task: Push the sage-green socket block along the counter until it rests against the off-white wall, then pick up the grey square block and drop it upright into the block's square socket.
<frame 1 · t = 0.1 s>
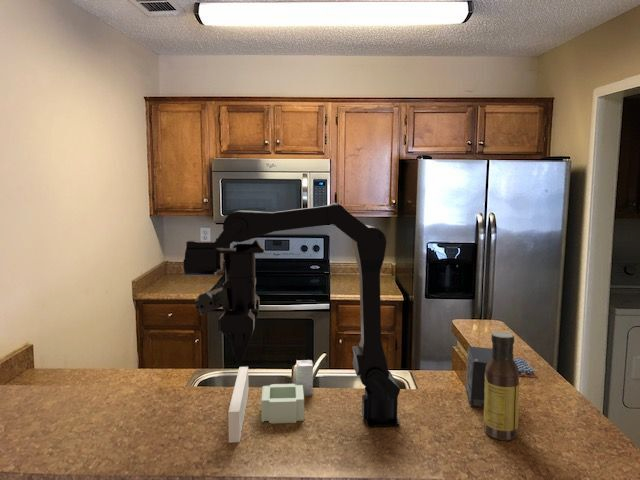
hand: (241, 353, 93), 15 cm above the countertop, fingers open, 9 cm apart
backstop wall: (239, 414, 98), on the countertop
sauce bottle: (499, 434, 91), on the countertop
small box: (482, 399, 106), on the countertop
woven mat: (510, 371, 124), on the countertop
grey square block: (304, 392, 109), on the countertop
socket block: (282, 413, 99), on the countertop
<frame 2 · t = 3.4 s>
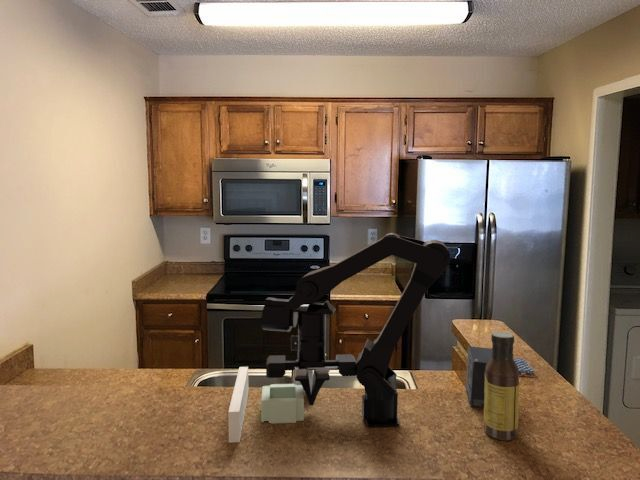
hand: (311, 404, 99), 2 cm above the countertop, fingers closed
socket block: (282, 413, 99), on the countertop, touching gripper
everything else where it was.
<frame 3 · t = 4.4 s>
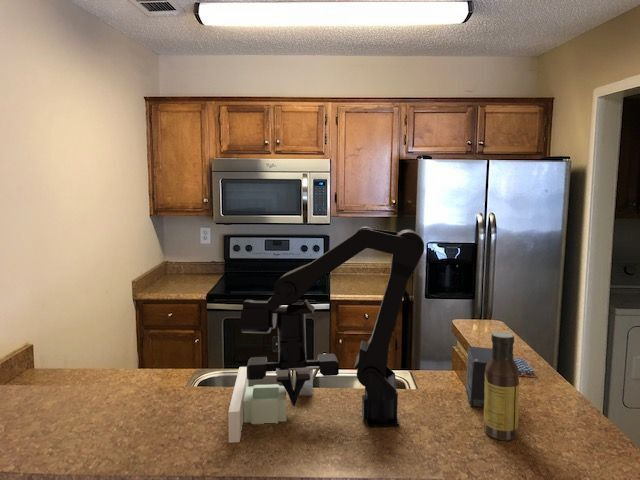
hand: (293, 405, 99), 2 cm above the countertop, fingers closed
socket block: (265, 413, 98), on the countertop, touching gripper
everything else where it was.
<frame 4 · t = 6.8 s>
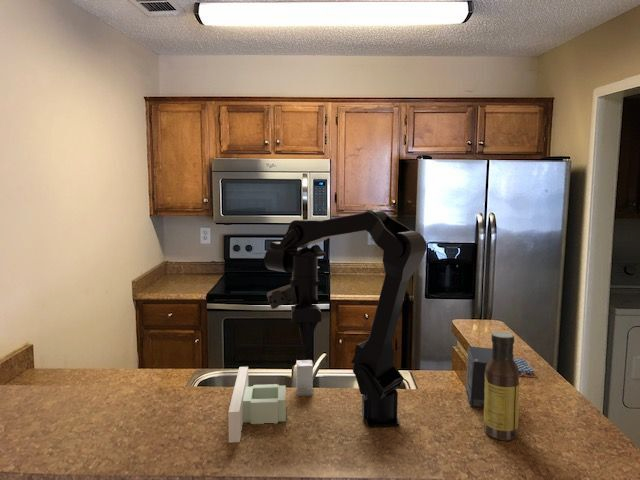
hand: (304, 341, 108), 12 cm above the countertop, fingers open, 5 cm apart
socket block: (265, 413, 98), on the countertop
everything else where it was.
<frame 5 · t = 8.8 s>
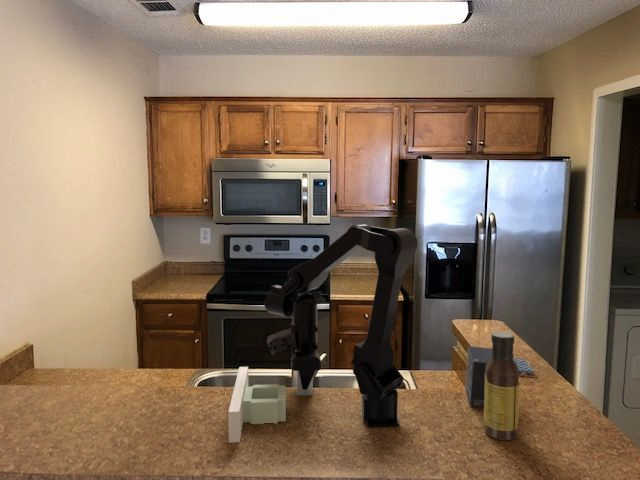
hand: (304, 385, 109), 2 cm above the countertop, fingers closed on grey square block, 4 cm apart
grey square block: (304, 392, 109), on the countertop, touching gripper
everything else where it was.
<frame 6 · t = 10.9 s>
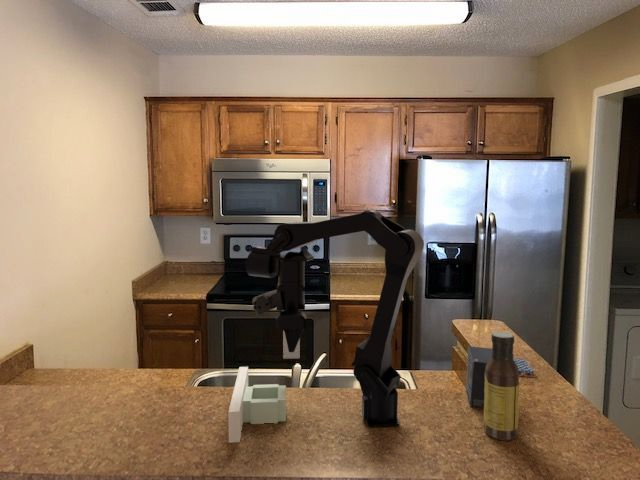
hand: (291, 348, 104), 12 cm above the countertop, fingers closed on grey square block, 4 cm apart
grey square block: (291, 355, 104), point 10 cm above the countertop, touching gripper
everything else where it was.
when the fingers open (5 cm above the countertop, at t = 13.3 s): grey square block drops 3 cm, resting in socket block.
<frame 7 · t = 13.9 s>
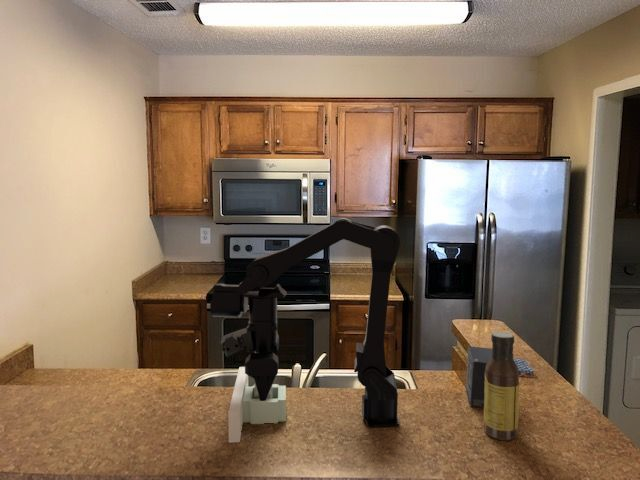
hand: (263, 390, 98), 5 cm above the countertop, fingers open, 9 cm apart
grey square block: (263, 413, 98), resting in socket block
everything else where it was.
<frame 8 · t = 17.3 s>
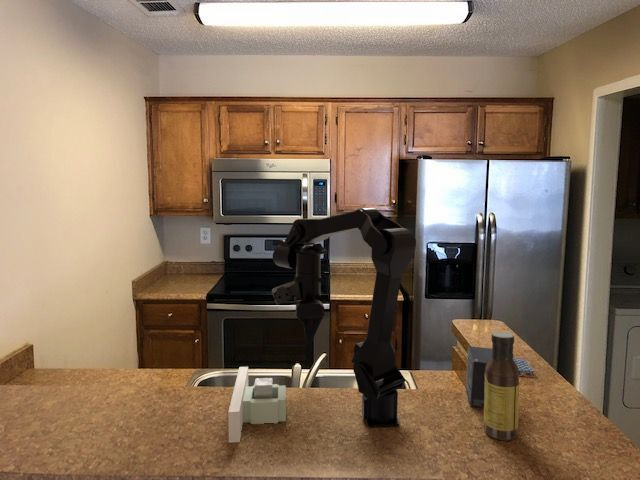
hand: (308, 336, 112), 12 cm above the countertop, fingers open, 9 cm apart
nothing on the countertop moved.
at the end: socket block 0.7 cm from the target spot, on the countertop; grey square block 0.3 cm off-centre on the socket block, point 0.0 cm above the socket block's base; grey square block tilted 0° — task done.
